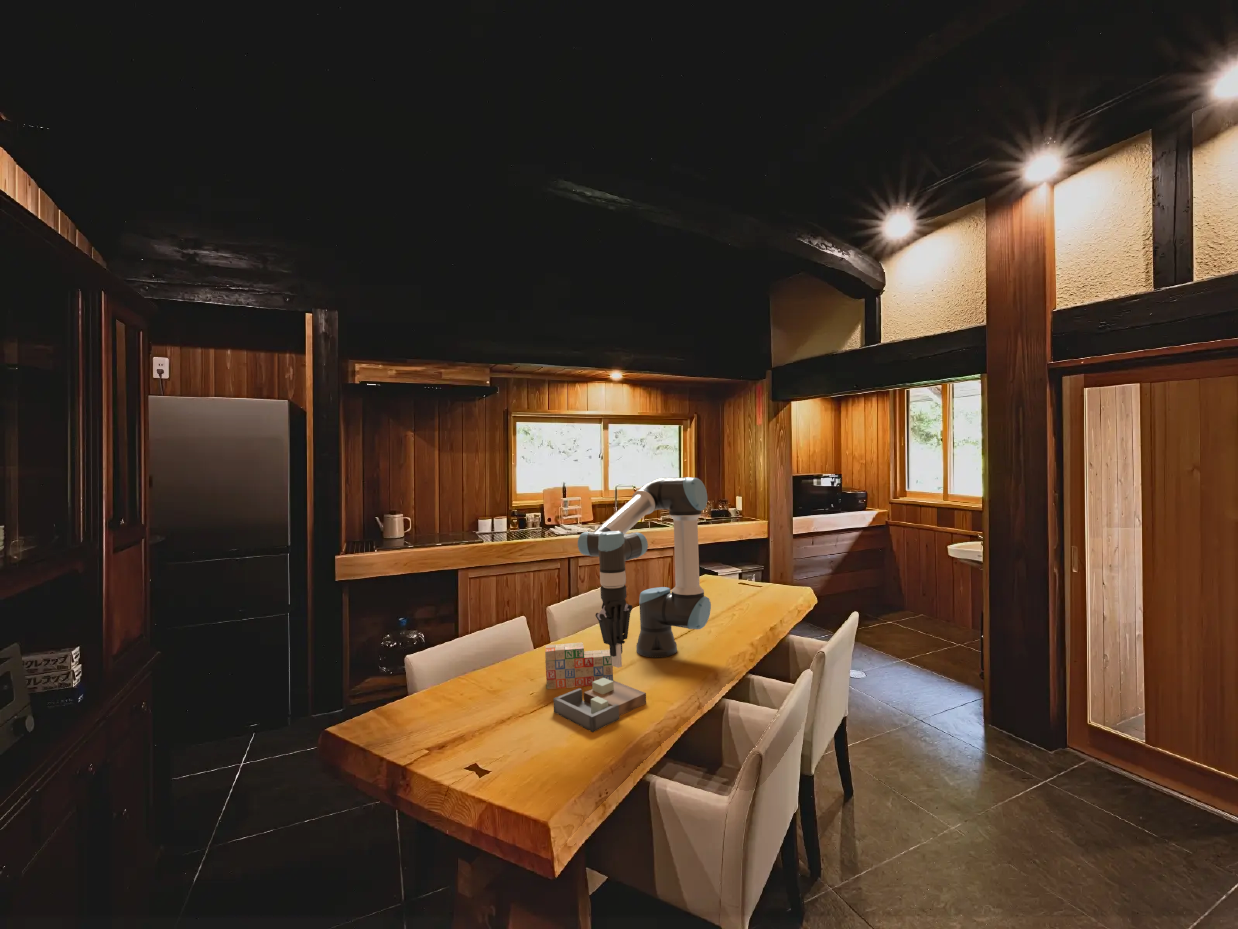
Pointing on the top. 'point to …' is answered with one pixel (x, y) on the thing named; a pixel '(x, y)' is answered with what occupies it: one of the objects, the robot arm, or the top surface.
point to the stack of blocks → (576, 665)
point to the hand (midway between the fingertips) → (616, 665)
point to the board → (620, 697)
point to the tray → (584, 711)
